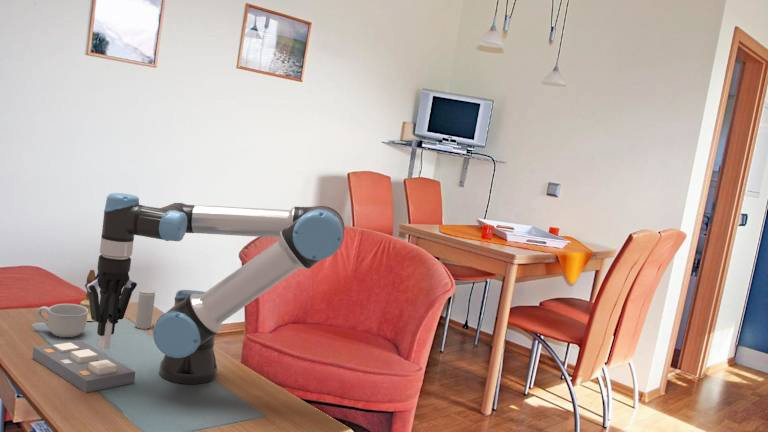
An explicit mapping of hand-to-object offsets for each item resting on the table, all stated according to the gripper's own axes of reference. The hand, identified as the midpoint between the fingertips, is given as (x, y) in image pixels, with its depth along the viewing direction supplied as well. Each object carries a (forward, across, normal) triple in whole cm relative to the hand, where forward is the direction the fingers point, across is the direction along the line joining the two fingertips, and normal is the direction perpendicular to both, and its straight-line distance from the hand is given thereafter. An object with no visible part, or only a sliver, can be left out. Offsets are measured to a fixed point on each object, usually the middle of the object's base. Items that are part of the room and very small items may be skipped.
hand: (103, 347), depth 170 cm
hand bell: (+9, -23, -49) cm, 55 cm away
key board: (+9, 0, -9) cm, 13 cm away
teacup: (+9, -9, -38) cm, 40 cm away
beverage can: (+9, -34, -34) cm, 49 cm away
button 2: (+7, 0, 0) cm, 7 cm away
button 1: (+8, 0, -18) cm, 19 cm away
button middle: (+7, 0, -9) cm, 11 cm away
